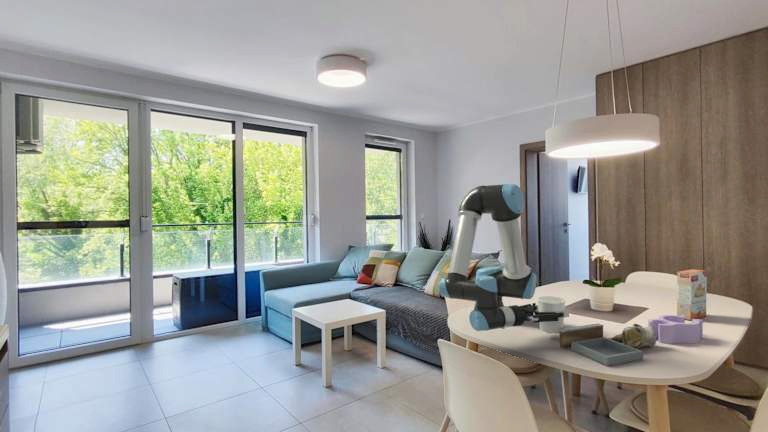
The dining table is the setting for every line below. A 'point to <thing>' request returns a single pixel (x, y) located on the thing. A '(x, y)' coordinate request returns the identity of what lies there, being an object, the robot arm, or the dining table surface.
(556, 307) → the white cup
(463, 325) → the dining table surface
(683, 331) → the clip
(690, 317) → the cracker box
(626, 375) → the dining table surface
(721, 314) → the dining table surface
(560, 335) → the board
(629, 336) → the ceramic sculpture
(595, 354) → the blue gray square tray
